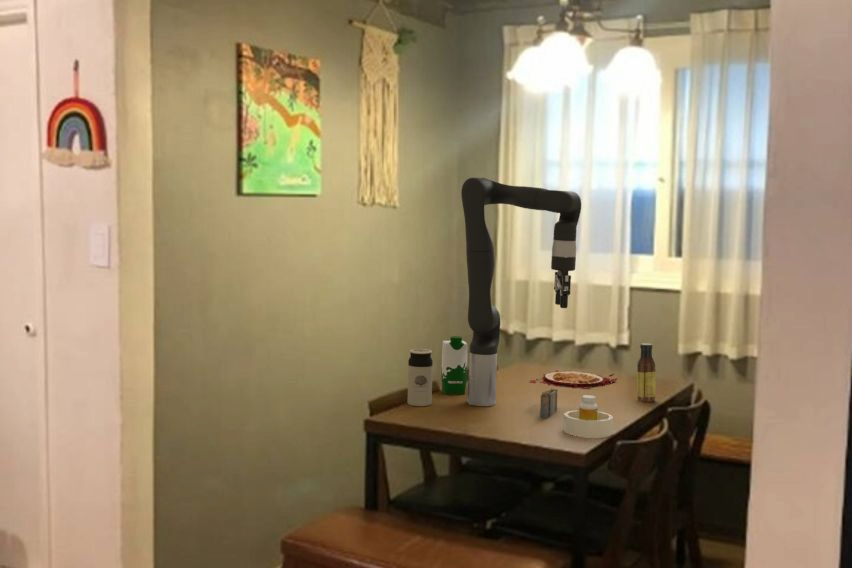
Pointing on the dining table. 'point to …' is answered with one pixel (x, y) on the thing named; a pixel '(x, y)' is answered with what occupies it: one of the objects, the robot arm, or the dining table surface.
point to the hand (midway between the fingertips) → (561, 306)
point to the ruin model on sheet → (548, 403)
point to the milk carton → (454, 366)
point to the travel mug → (420, 377)
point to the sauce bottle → (646, 374)
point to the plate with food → (574, 379)
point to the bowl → (588, 425)
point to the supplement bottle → (588, 408)
